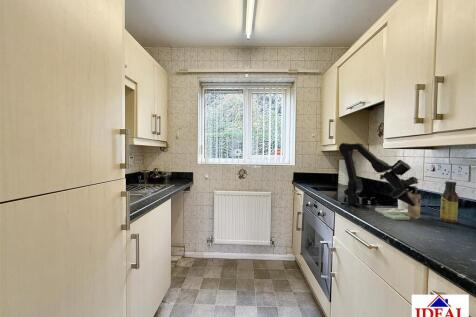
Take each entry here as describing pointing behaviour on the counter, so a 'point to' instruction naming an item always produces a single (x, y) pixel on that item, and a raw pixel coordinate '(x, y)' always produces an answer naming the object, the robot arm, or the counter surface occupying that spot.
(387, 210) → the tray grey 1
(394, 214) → the tray green
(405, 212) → the grey tray
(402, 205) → the white cup
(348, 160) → the robot arm
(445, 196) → the sauce bottle
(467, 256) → the counter surface
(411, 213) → the letter block
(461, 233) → the counter surface
